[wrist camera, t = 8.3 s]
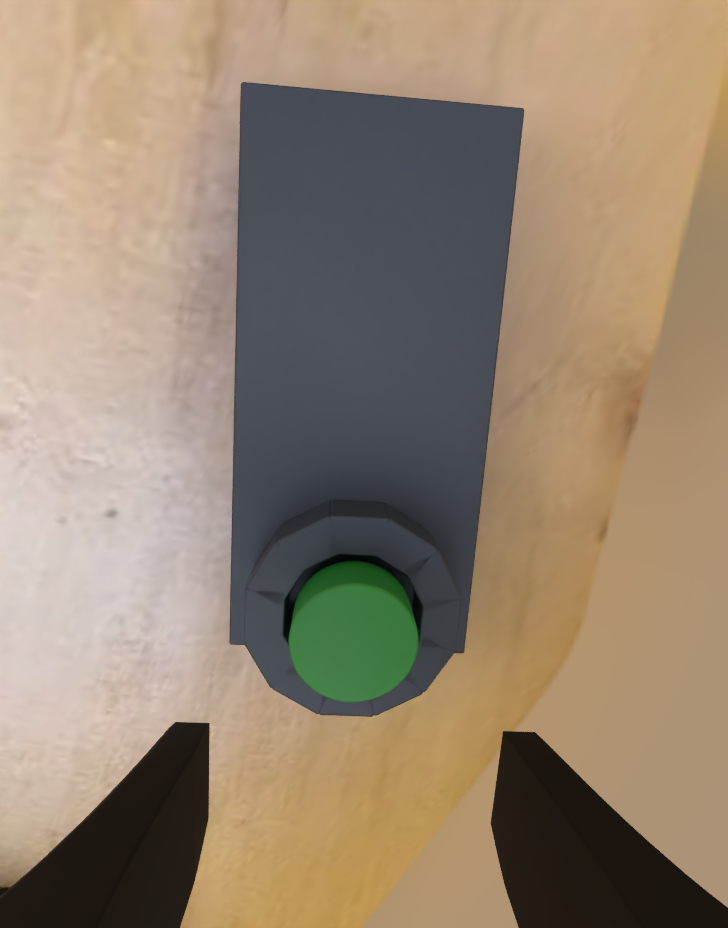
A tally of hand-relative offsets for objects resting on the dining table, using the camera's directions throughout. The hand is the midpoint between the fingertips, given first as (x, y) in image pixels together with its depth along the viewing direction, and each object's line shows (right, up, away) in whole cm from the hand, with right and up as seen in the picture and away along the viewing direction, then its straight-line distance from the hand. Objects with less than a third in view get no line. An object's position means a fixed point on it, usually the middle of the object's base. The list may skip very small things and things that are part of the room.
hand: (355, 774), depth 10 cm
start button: (0, +1, +7) cm, 7 cm away
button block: (0, +8, +9) cm, 12 cm away
